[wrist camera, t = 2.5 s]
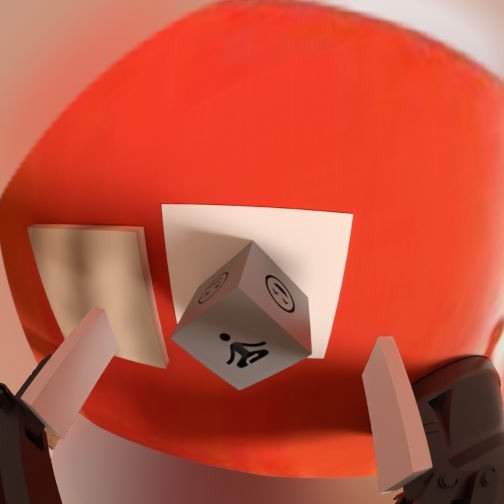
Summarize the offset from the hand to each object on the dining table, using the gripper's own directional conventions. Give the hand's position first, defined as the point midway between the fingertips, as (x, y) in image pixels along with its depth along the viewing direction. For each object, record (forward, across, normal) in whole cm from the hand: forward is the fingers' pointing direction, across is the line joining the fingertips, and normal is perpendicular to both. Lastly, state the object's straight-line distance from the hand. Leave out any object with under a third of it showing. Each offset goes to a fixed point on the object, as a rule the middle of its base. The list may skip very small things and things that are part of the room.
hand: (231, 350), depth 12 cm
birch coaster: (+6, +13, +3) cm, 14 cm away
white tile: (+6, 0, +1) cm, 6 cm away
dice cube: (+6, 0, +1) cm, 6 cm away
